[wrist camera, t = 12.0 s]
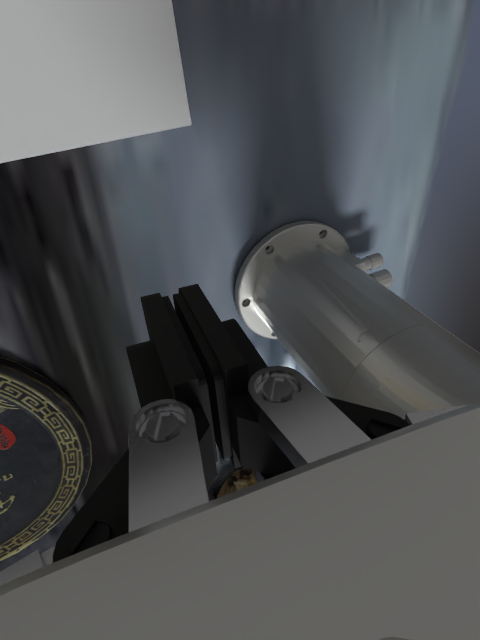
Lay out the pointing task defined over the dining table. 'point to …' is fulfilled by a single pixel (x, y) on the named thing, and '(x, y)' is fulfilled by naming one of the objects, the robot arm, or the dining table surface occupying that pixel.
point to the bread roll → (238, 481)
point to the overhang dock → (87, 73)
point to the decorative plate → (37, 456)
